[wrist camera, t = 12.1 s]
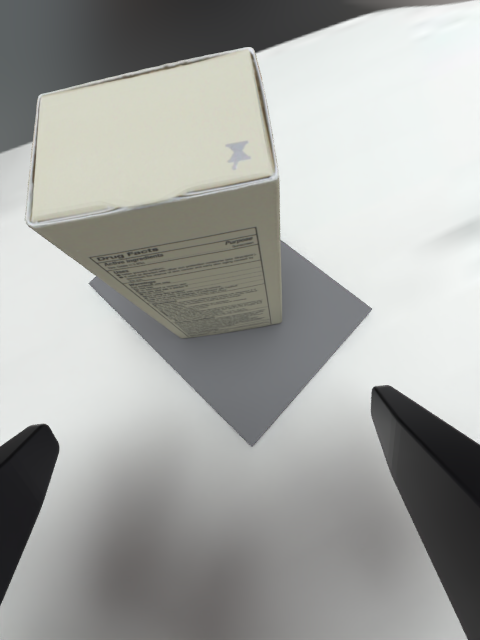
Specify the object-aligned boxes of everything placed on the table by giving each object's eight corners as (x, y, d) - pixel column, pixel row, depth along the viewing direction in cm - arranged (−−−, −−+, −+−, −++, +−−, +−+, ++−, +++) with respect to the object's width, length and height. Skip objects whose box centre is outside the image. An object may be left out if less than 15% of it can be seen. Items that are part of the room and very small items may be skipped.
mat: (370, 311, 19) (372, 308, 19) (252, 446, 18) (251, 446, 17) (200, 182, 23) (199, 178, 22) (91, 285, 21) (88, 283, 21)
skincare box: (272, 257, 20) (267, 35, 8) (283, 325, 19) (296, 176, 7) (169, 273, 21) (28, 83, 9) (173, 341, 19) (16, 224, 8)
